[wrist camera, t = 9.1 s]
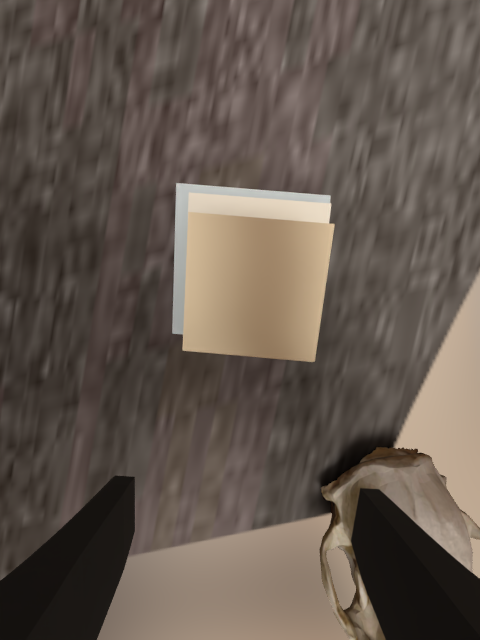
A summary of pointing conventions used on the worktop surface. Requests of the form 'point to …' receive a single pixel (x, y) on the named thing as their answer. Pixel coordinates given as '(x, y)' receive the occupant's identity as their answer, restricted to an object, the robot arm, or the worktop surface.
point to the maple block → (255, 285)
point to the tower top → (259, 207)
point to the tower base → (182, 226)
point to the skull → (411, 497)
